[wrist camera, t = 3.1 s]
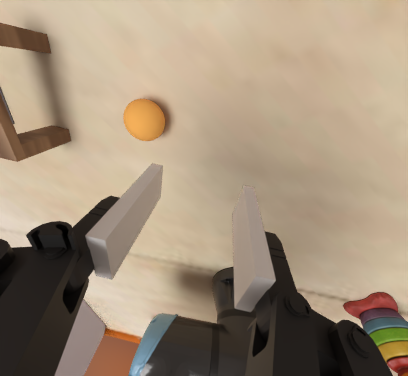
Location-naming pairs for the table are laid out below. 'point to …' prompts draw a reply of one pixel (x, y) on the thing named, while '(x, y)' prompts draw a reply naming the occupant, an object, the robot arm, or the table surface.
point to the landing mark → (6, 106)
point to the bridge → (3, 127)
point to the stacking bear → (384, 328)
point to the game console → (81, 343)
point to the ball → (144, 119)
